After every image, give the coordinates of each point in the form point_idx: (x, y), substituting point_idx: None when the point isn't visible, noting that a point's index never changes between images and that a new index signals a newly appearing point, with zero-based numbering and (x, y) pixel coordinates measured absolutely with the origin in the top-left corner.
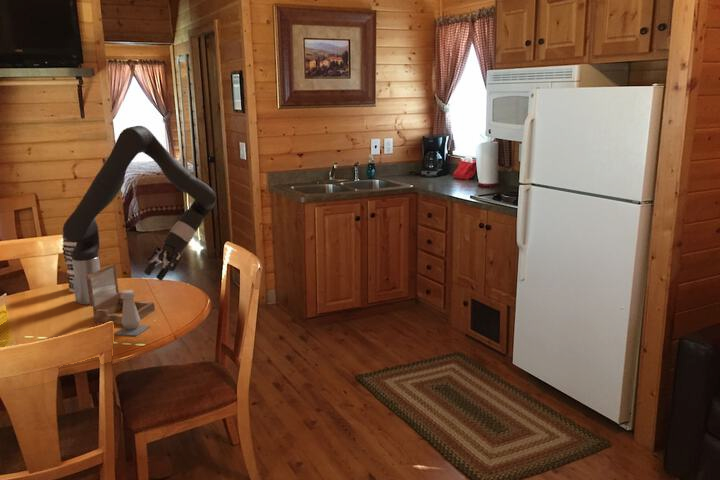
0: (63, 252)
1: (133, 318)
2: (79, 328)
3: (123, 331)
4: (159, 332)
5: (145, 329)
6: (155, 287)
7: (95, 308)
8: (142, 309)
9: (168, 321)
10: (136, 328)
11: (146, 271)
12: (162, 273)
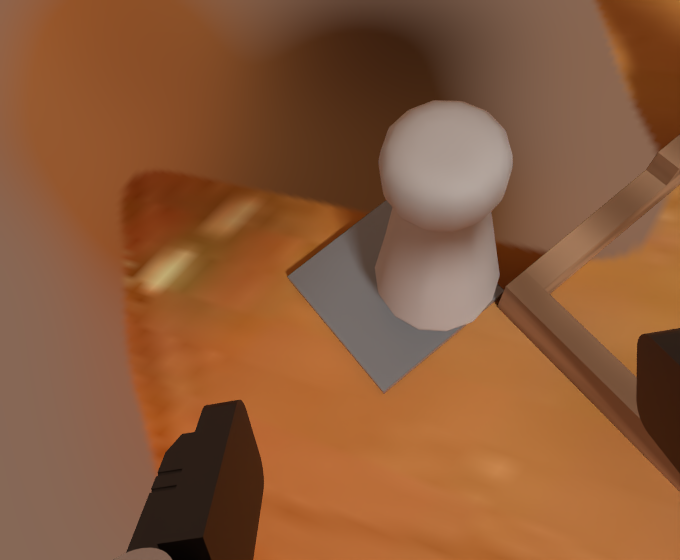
0: None
1: (379, 265)
2: (634, 64)
3: None
4: (255, 413)
5: (349, 351)
6: None
7: None
8: (632, 407)
9: (410, 544)
10: None
11: (657, 363)
12: (149, 497)
